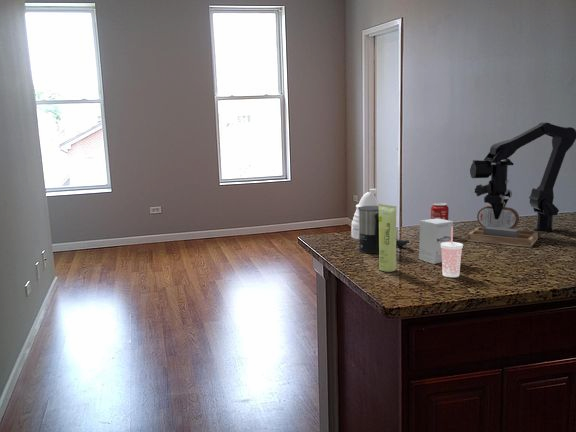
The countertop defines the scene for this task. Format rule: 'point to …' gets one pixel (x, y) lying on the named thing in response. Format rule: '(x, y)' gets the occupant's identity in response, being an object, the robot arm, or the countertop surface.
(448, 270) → the beverage cup
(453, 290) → the countertop surface
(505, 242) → the divided wooden tray
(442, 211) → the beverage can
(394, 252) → the tube
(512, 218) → the tin
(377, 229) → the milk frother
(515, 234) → the bar
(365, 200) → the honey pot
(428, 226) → the supplement box
